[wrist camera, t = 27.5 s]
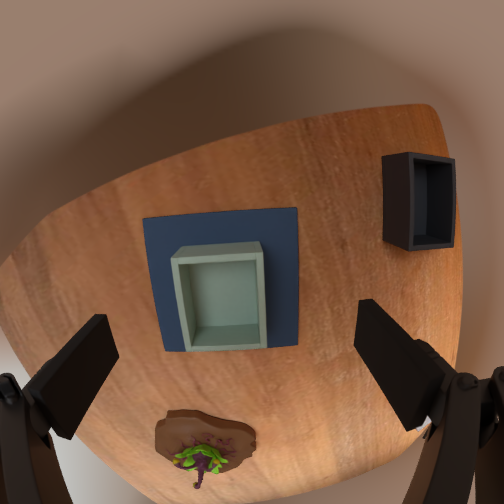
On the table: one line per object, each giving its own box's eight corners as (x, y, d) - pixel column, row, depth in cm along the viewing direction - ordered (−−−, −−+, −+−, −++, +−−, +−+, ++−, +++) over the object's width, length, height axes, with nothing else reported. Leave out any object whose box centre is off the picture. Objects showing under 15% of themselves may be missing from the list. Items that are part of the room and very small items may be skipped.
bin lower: (381, 156, 33) (408, 151, 26) (425, 160, 33) (455, 159, 27) (382, 240, 36) (408, 251, 29) (425, 237, 36) (453, 247, 29)
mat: (143, 218, 34) (142, 218, 33) (296, 207, 34) (297, 207, 34) (166, 349, 39) (165, 351, 38) (297, 343, 39) (297, 345, 39)
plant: (147, 447, 45) (137, 485, 34) (166, 398, 41) (152, 445, 30) (231, 471, 47) (231, 508, 37) (269, 428, 44) (275, 473, 33)
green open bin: (181, 246, 34) (170, 258, 29) (259, 241, 35) (263, 252, 29) (193, 328, 37) (186, 351, 31) (263, 325, 38) (267, 348, 32)
